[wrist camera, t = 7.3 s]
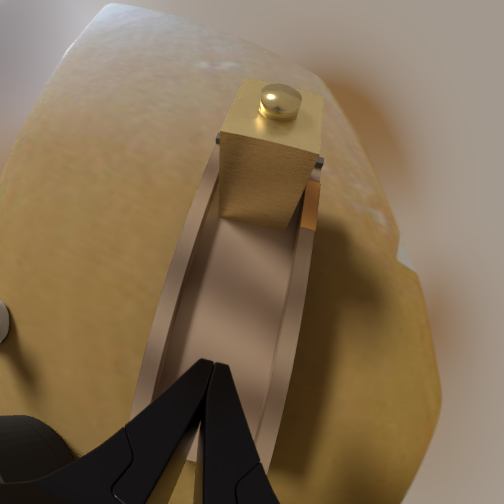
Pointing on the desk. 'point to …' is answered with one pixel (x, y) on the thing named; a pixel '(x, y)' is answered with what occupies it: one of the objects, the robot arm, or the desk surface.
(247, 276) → the balance beam
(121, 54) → the desk surface
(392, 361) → the desk surface
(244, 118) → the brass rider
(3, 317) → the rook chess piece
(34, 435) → the pen holder
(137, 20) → the desk surface
